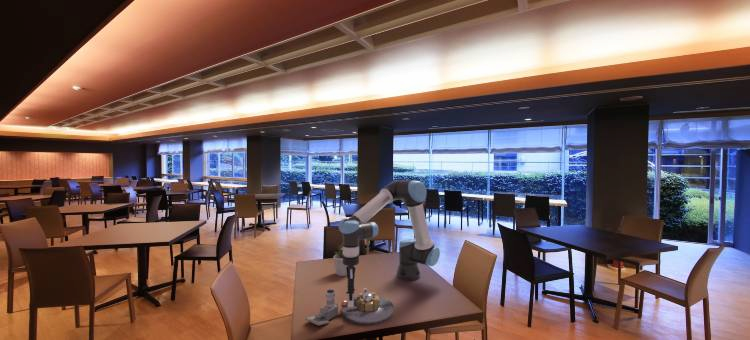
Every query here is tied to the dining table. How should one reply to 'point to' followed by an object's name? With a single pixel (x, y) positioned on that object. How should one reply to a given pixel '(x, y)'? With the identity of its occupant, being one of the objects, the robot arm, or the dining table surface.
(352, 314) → the cap plate
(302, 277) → the dining table surface
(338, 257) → the potted plant
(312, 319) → the camera
